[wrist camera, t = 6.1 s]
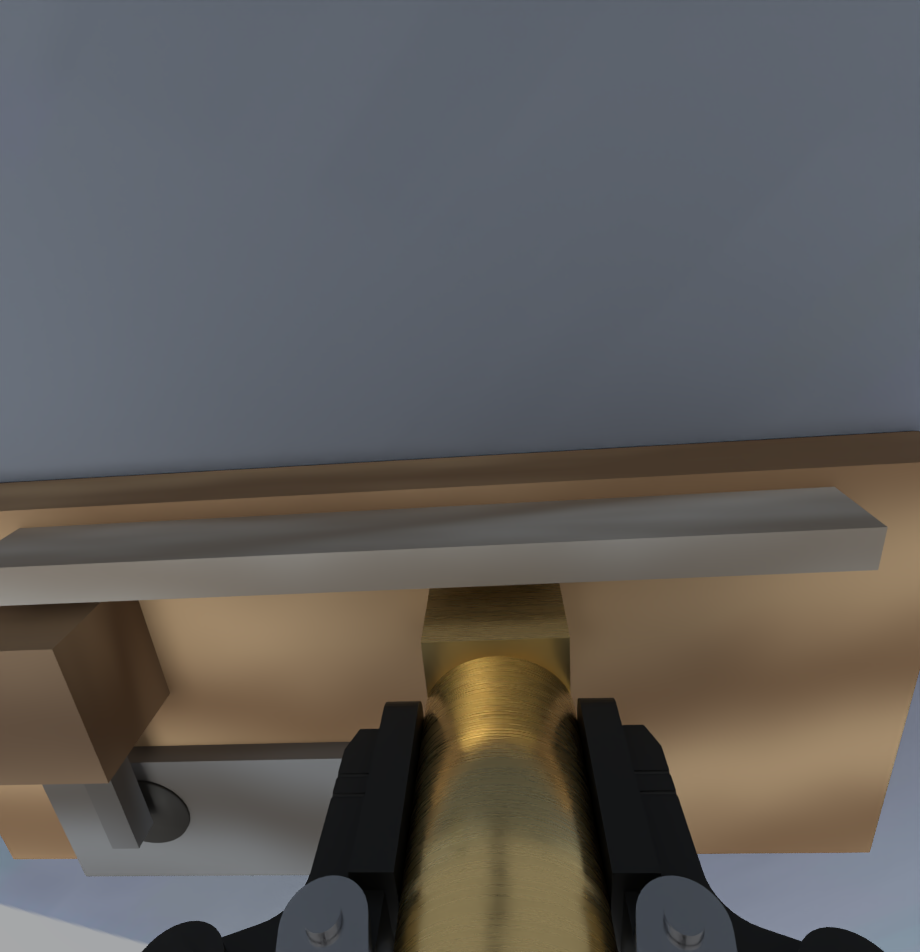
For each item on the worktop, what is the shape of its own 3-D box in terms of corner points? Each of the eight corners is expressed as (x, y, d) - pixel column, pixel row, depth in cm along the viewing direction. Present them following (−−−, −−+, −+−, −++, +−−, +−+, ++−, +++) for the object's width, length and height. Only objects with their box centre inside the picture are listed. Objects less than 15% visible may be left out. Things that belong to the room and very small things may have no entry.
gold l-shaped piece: (429, 565, 15) (352, 995, 7) (558, 559, 15) (649, 998, 6) (455, 794, 18) (425, 1284, 10) (562, 793, 18) (627, 1294, 9)
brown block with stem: (21, 579, 16) (-77, 653, 13) (129, 574, 16) (52, 649, 13) (112, 794, 19) (48, 891, 16) (203, 792, 19) (154, 891, 16)
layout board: (-100, 488, 17) (-261, 560, 14) (917, 430, 15) (1055, 496, 11) (53, 806, 22) (-34, 921, 19) (834, 795, 20) (912, 922, 16)
